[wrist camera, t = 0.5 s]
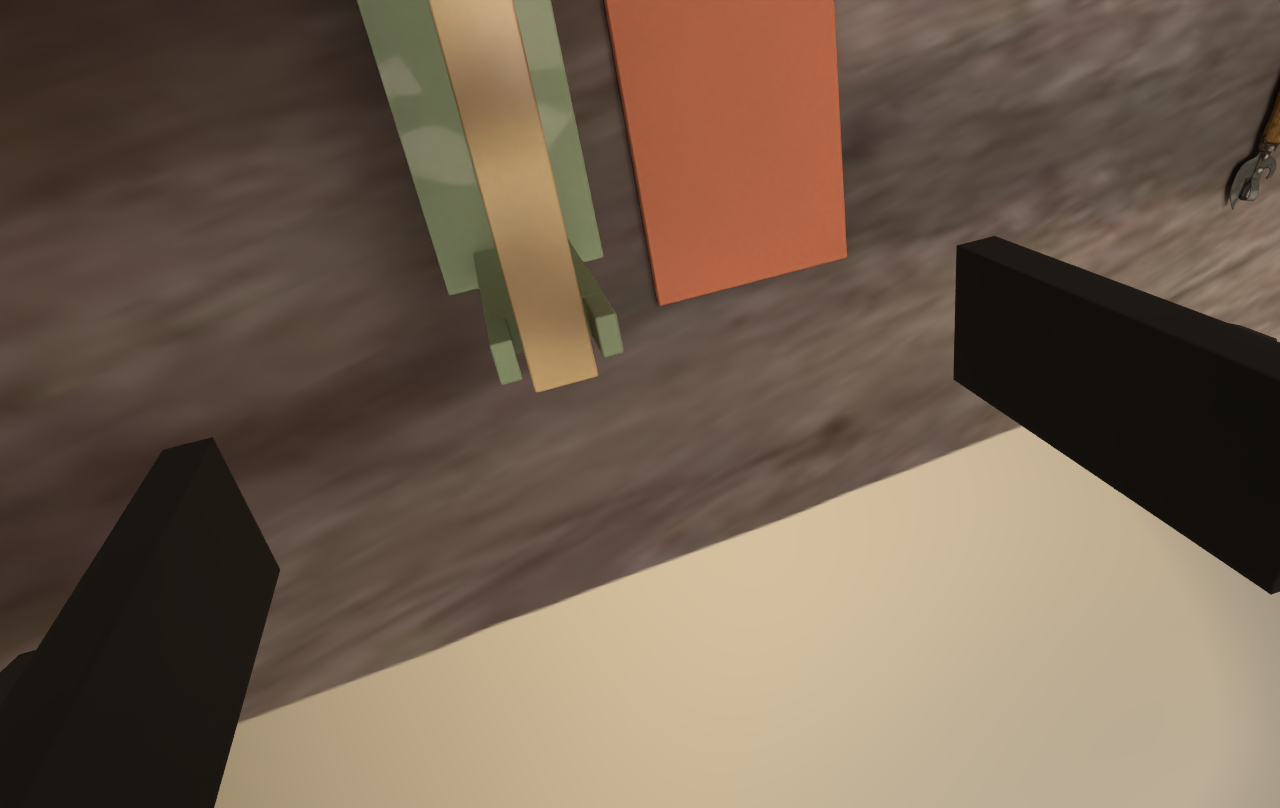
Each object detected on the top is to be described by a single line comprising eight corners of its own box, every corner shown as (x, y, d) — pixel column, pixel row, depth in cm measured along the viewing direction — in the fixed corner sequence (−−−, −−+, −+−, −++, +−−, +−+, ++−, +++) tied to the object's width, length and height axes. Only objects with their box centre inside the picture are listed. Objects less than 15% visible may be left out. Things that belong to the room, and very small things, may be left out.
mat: (558, -253, 31) (560, -258, 30) (813, -293, 32) (819, -298, 32) (657, 302, 42) (659, 306, 42) (842, 254, 44) (847, 257, 43)
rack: (287, -227, 29) (190, -397, 18) (494, -259, 30) (533, -440, 19) (448, 290, 39) (455, 403, 27) (600, 252, 40) (670, 346, 28)
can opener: (1290, 50, 45) (1310, 50, 44) (1318, 58, 45) (1338, 58, 44) (1215, 206, 48) (1232, 210, 47) (1243, 211, 49) (1260, 215, 48)
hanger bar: (320, -391, 20) (307, -440, 18) (413, -403, 20) (411, -453, 18) (528, 368, 30) (535, 393, 28) (587, 352, 31) (598, 376, 28)
